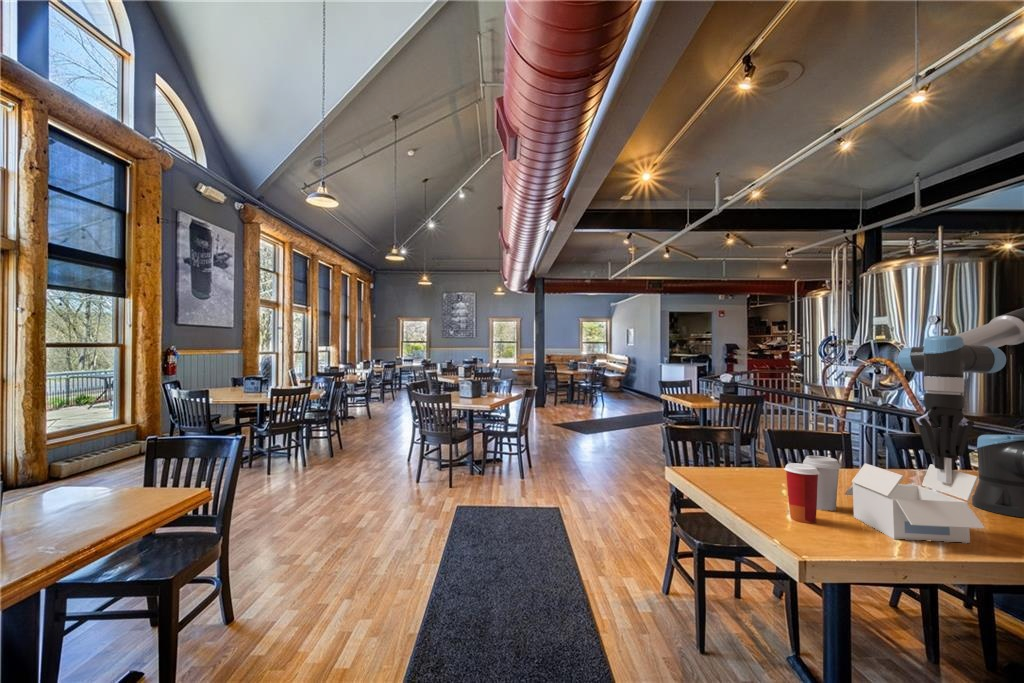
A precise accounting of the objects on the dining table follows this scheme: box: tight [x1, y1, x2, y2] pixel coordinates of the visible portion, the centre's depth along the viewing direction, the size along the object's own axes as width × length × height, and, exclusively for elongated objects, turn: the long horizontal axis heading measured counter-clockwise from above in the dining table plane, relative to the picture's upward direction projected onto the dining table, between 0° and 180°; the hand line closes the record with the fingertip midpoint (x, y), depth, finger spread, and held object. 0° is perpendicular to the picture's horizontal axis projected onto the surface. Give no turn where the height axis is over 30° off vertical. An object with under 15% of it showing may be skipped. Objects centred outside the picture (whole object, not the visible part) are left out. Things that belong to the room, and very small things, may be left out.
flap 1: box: [851, 463, 905, 497], centre depth 114 cm, size 6×14×1 cm
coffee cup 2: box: [802, 455, 842, 512], centre depth 130 cm, size 10×10×15 cm
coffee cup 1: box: [783, 462, 819, 524], centre depth 120 cm, size 8×8×15 cm
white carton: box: [844, 482, 986, 544], centre depth 113 cm, size 17×25×10 cm
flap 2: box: [921, 463, 979, 502], centre depth 112 cm, size 6×14×1 cm
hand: (944, 481), depth 112 cm, fingers closed
